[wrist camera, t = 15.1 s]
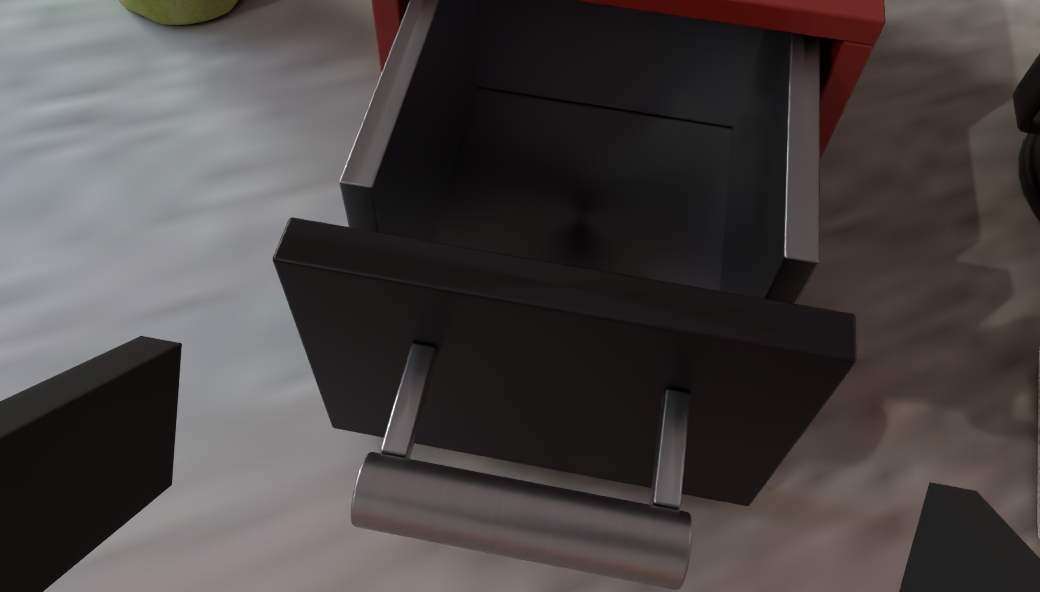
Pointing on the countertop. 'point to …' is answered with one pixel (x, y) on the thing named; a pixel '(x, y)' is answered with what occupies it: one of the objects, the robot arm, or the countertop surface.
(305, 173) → the countertop surface
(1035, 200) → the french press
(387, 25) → the red drawer cabinet
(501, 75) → the black drawer
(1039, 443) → the milk carton
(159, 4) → the plant pot
